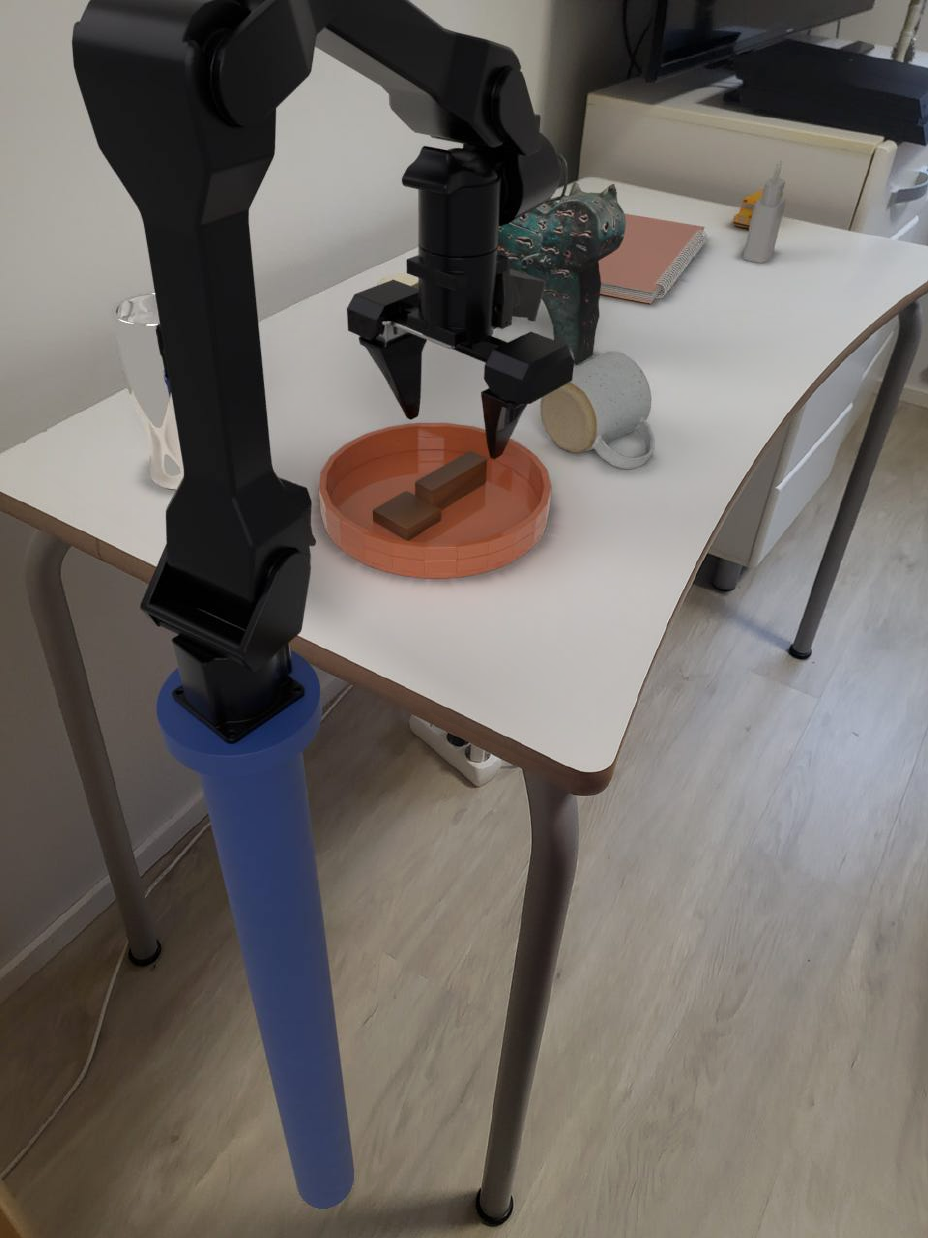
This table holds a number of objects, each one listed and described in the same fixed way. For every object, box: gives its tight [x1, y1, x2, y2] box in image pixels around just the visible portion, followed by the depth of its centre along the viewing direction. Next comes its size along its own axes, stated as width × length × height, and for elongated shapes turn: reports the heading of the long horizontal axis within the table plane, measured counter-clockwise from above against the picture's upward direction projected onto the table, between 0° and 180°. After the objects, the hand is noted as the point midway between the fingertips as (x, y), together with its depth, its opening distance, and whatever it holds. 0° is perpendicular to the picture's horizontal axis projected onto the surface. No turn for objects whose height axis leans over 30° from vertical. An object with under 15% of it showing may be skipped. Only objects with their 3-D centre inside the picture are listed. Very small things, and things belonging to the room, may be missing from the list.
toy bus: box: [732, 188, 784, 229], centre depth 140 cm, size 3×10×4 cm, turn 140°
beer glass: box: [110, 291, 184, 491], centre depth 78 cm, size 7×7×15 cm
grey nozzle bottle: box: [742, 160, 787, 264], centre depth 126 cm, size 3×5×12 cm, turn 150°
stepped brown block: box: [373, 451, 487, 541], centre depth 79 cm, size 4×11×2 cm, turn 139°
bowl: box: [318, 422, 553, 579], centre depth 79 cm, size 19×19×3 cm
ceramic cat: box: [498, 150, 626, 365], centre depth 100 cm, size 20×6×20 cm, turn 51°
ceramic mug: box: [539, 350, 656, 470], centre depth 86 cm, size 11×8×8 cm
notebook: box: [599, 212, 708, 304], centre depth 126 cm, size 27×17×2 cm, turn 156°
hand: (453, 436), depth 77 cm, fingers open, 9 cm apart
